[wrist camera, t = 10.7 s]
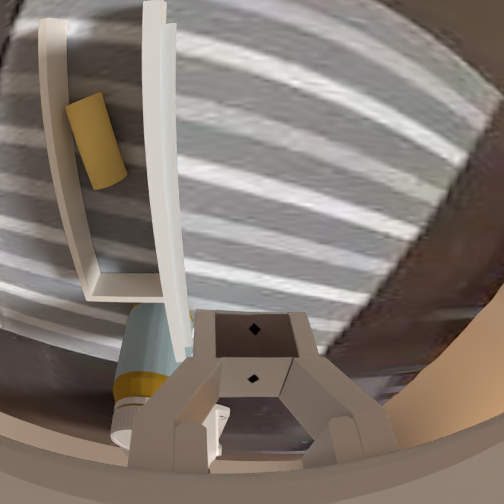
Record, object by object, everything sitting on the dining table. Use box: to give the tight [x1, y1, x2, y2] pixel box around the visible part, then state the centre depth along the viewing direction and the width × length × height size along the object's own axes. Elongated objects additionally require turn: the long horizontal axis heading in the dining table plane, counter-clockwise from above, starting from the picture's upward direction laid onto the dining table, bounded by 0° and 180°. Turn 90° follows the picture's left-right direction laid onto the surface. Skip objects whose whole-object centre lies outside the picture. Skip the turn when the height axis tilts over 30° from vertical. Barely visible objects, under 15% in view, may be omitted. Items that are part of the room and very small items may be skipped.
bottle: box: [110, 302, 193, 450], centre depth 28 cm, size 7×7×15 cm
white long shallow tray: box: [38, 0, 167, 303], centre depth 22 cm, size 25×9×4 cm, turn 177°
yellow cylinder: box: [65, 92, 127, 190], centre depth 21 cm, size 7×3×3 cm
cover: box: [142, 0, 193, 363], centre depth 18 cm, size 20×8×1 cm
